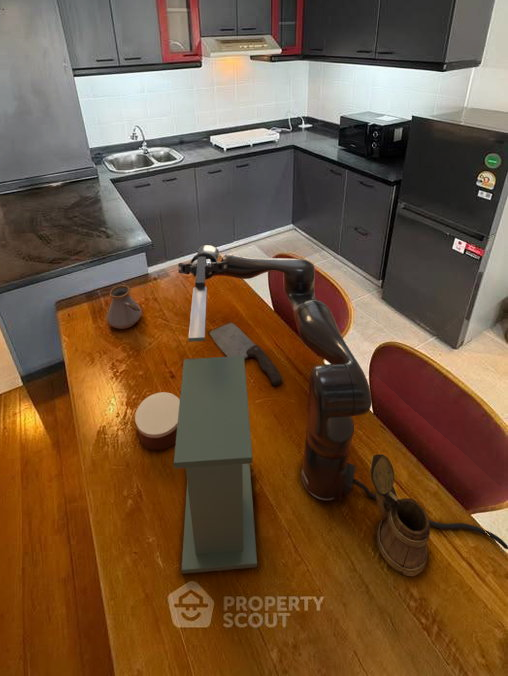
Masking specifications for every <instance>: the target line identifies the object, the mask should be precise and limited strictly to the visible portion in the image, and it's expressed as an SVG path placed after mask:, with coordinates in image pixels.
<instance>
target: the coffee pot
mask: <svg viewBox="0 0 508 676" xmlns="http://www.w3.org/2000/svg"><path fill="white" fill-rule="evenodd" d="M130 293H131V288H130V287H129V286H128V285H125V284H119V285H116V286H114V287H113V288H111V290H110V291H109V297H110V298H111V302H110V303H109V304H110V305H109V308H108V311H107V314H106V321H107V323H108V324H109V326H111V327H112V328H115V329H120V330H124V329H128V328H131V327H133V326H134V325H135V324H136V323H137V322H139V320H140V318H141V317H142V315H143V314H144V311H143V310H142V309H141V306H140V305H139V304H138V303H137V302H136V301H135V299H134V298H133V297H132V296H131V295H130Z"/></svg>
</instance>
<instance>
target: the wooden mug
mask: <svg viewBox="0 0 508 676" xmlns="http://www.w3.org/2000/svg"><path fill="white" fill-rule="evenodd" d="M370 479H371V482H372V484H373V487H374V489H375V492H376V493H375V495H376V500H377V501H376V500H375V501H376V503H377V507H378V509H379V512H380V515H381V521H380V523H378V526H377V531H376V543H377V548H378V551H379V552H380V554H381V556H382V558H383V560H384V561H385V562H386V563H387V564H388V565H389V566H390V567H391V568H392V569H393V570H395V571H397V573H400V574H401V575H404V576H406V577H416V576H418V575H419V574H420V573H422V572H423V571H424V569H425V567H426V564H427V559H428V550H427V548H428V541H429V539H430V536H431V526H430V523H429V520H430V519H429V515H428V513H427V511H426V509H425V508H424V507H423V506H422V505H421V504H420V503H419V502H418V501H416V499H413V498H410V497H409V498H408V497H407V498H404V497H403V498H399V497H398V495H397V492H396V490H395V487H394V483H395V470H394V467H393V464H392V462H391V461H390V459H389V458H388V456H387V455H385V454H381V453H380V454H373V456H372V459H371V464H370ZM384 501H386V503H387V505H386V504H385V502H384Z"/></svg>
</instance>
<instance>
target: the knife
mask: <svg viewBox="0 0 508 676" xmlns="http://www.w3.org/2000/svg"><path fill="white" fill-rule="evenodd" d="M205 265H206V257H198V258H197V269H196V277H195V278H194V279H195V280H194V287H192V298H191V306H190V307H191V308H190V318H189V320H190V321H189V327H188V336H187V337H188V342H189V343H191V342H192V343H193V342H205V341H206V331H207V329H206V327H207V305H208V286H206V281H207V279H206V274H205Z"/></svg>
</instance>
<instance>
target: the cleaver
mask: <svg viewBox="0 0 508 676" xmlns="http://www.w3.org/2000/svg"><path fill="white" fill-rule="evenodd" d="M208 333H209V335H210V337H211V338H212V340H213V341H214V343H215V344H216V346H217V347H218V348H219V349H220V351H221V352H222V354H224V355H225V357H234V356H244V360H247V359H248V358H249V359H250V358H254V359H256V360H257V362H258V365H259V368H260V369H261V371H262V372H263V373H264V374H265V375H267V377H268V378H269V381H270V383H271V385H272V386H273V387H277V386H279V385H281V384H282V383H283V377H282V375H281V373H280V371H279V370H278V369H277V367H276V365H275V364H274V363H273V361H272V360H271V359H270V357H269V356H268V354H267V353H266V352H265V351H264V350H263V349H262V348H261V346H259V345H258V344H255V343H254V342H253V341H252V340H251V338H249V337H248V336H247V335H246V334H245V333H244V331H243V330H241V329H240V328H239V326H237V325H236V324H235V323H234V322H231V321H230V322H229V323H226V324H224V325H222V326H219V327H217V328H215V329H213V330H210V331H209V332H208Z"/></svg>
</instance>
